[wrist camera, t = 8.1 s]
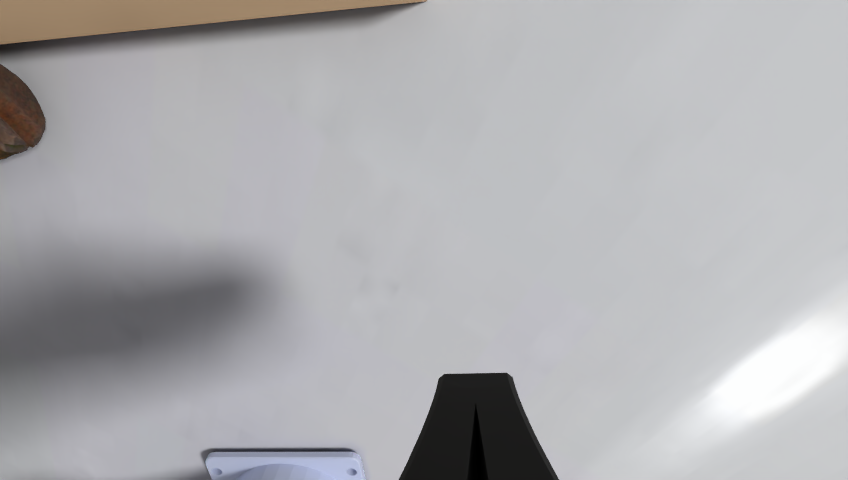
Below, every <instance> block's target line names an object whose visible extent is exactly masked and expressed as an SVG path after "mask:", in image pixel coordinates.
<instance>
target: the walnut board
mask: <svg viewBox="0 0 848 480" xmlns="http://www.w3.org/2000/svg"><path fill="white" fill-rule="evenodd" d="M425 1H427V0H0V44H10V43H20V42H30V41H39V40H49V39H59V38H69V37H79V36H89V35H99V34H109V33H119V32H128V31H138V30H148V29H158V28H168V27H178V26H188V25H198V24H207V23H217V22H227V21H237V20H247V19H257V18H267V17H277V16H287V15H296V14H306V13H316V12H326V11H336V10H346V9H356V8H366V7H375V6H385V5H395V4H405V3H415V2H425Z"/></svg>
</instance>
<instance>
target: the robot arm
mask: <svg viewBox="0 0 848 480" xmlns="http://www.w3.org/2000/svg"><path fill="white" fill-rule="evenodd" d="M205 464H206V467H207V469H208V471H209V474H210V476H211V479H212V480H366V478H365V474H364V469H363V464H362V459H361V457H360V456H359V455H358V454H357V453H355V452H212V453H210V454H209V455H208V457H207V458H206V460H205ZM399 480H559V479H558V477H557V475H556V474H555V472H554V470H553V468H552V466H551V464H550V462H549V460H548V459H547V457H546V455H545V453H544V451H543V449H542V447H541V445H540V444H539V442H538V440H537V437H536V435H535V433H534V431H533V429H532V427H531V425H530V423H529V420H528V418H527V416H526V414H525V412H524V409H523V407H522V404H521V402H520V399H519V397H518V394H517V391H516V388H515V385H514V381H513V377H511V376H510V375H509V374H508V373H475V374H444V375H443V376H441V377H440V378H439V380H438V384H437V389H436V392H435V395H434V399H433V402H432V405H431V407H430V410H429V413H428V416H427V418H426V421H425V423H424V426H423V428H422V431H421V433H420V435H419V438H418V440H417V442H416V444H415V446H414V449H413V451H412V453H411V455H410V458H409V460H408V462H407V464H406V466H405V468H404V470H403V472H402V474H401V476H400V478H399Z"/></svg>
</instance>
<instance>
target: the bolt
mask: <svg viewBox="0 0 848 480" xmlns="http://www.w3.org/2000/svg"><path fill="white" fill-rule="evenodd" d="M44 130H45V117H44V115H43V112H42V110H41V107H40V105H39V103H38V101H37V99H36V98H35V96H34V95H33V93H32V92H31V90H30V89H29V88H28V86H27V85H26V84H25V83H24V82H23V81H22V80H21V79H20V78H19V77H18V76H16V75H15V74H14V73H12V72H11V71H9V70H8V69H7V68H5V67H4V66H2V65H1V64H0V159H4V158H7V157H9V156H11V155H13V154H17V153H19V152H20V153H21V152H23V151H26V150H27V148H28V147H34V146H35V145H37V144H38V142H39V141H40V139H41V137H42V135H43V132H44Z"/></svg>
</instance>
